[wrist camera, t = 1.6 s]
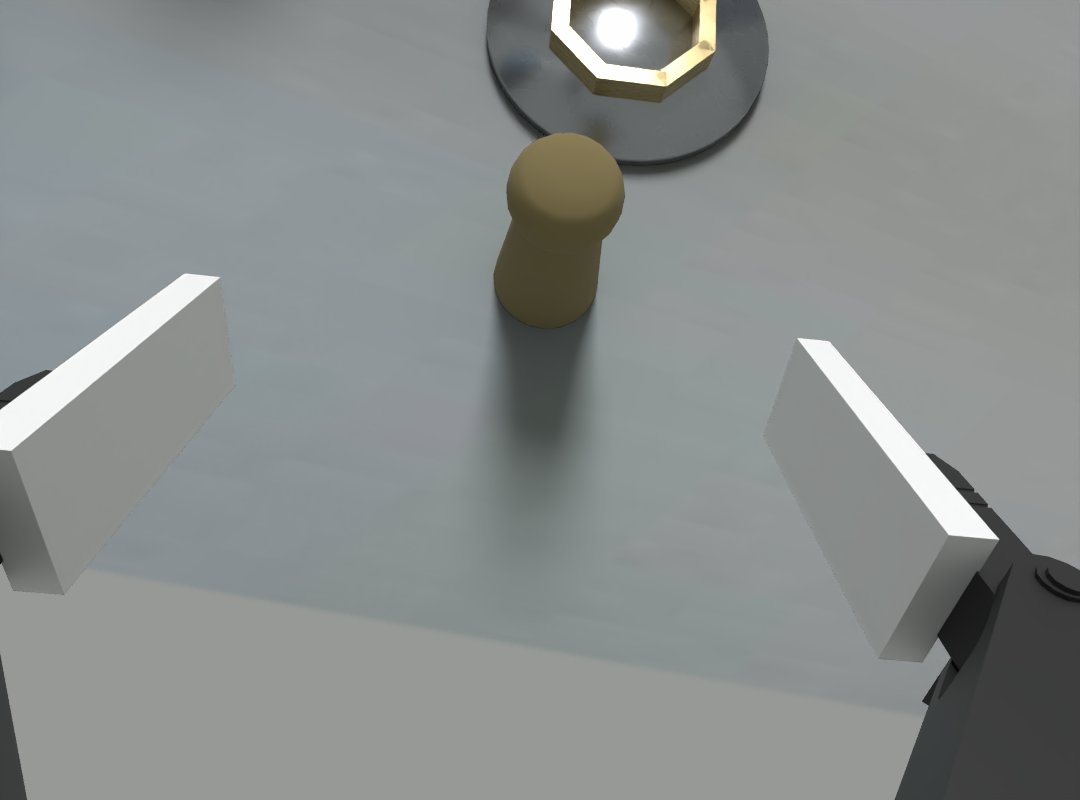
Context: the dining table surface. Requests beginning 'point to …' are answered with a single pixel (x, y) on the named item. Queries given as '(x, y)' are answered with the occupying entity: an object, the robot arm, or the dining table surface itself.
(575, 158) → the cork
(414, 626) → the dining table surface
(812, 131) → the dining table surface
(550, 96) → the ring plate
